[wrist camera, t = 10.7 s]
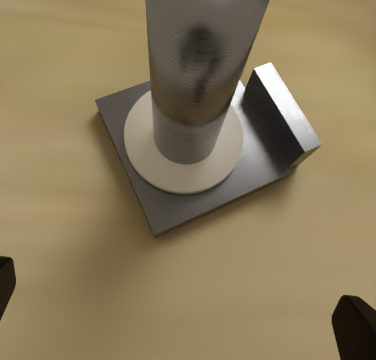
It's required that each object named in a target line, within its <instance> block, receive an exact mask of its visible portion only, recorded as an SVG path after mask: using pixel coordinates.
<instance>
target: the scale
mask: <svg viewBox="0 0 376 360" xmlns="http://www.w3.org/2000/svg"><path fill="white" fill-rule="evenodd" d="M150 90H151V83H150V81H148V82H145V83H142V84H139V85H136V86H134V87H131V88H128V89H125V90H122V91H119V92H117V93H114V94H111V95H108V96H105V97H102V98H99V99H97V100H95V101H96V104H97V107H98V110H99V112H100V114H101V117H102V119H103V121H104V123H105V126H106V128H107V130H108V132H109V135H110V137H111V139H112V142H113V144H114V146H115V148H116V151H117V153H118V155H119V157H120V160H121V162H122V164H123V166H124V169H125V171H126V173H127V176H128V178H129V180H130V182H131V185H132V187H133V189H134V191H135V194H136V196H137V198H138V201H139V203H140V205H141V207H142V210H143V212H144V214H145V216H146V219H147V221H148V223H149V225H150V228H151V230H152V232H153V235H154V237H155V238H156V237H159V236H161V235H163V234H165V233H167V232H170V231H172V230H174V229H176V228H178V227H180V226H183V225H185V224H187V223H189V222H191V221H193V220H196V219H198V218H200V217H202V216H204V215H207V214H209V213H211V212H213V211H215V210H217V209H220V208H222V207H224V206H226V205H228V204H230V203H233V202H235V201H237V200H239V199H241V198H244V197H246V196H248V195H250V194H252V193H254V192H257V191H259V190H261V189H263V188H265V187H267V186H270V185H272V184H274V183H276V182H278V181H281V180H283V179H285V178H287V177H288V176H289V175H290V174H291V173H293V172H294V170H293V169H292V168H294V167H296V166H298V165H299V164H300V163H301V162H303V161H304V160H305V159H306V158H307V157H308V156H310V155H311V154H312V153H313V152H314V151H315V150H316V149H318V148H319V147H320V146H321V145H322V143H321V141H320V140H319V138H318V137H317V135H316V133H315V132H314V130H313V129H312V127H311V125H310V124H309V122H308V121H307V119H306V117H305V116H304V114H303V113H302V111H301V110H300V107H299V105H298V103H297V102H296V100H295V99H294V98H293V97H292V95H291V94H290V92H289V91H288V89H287V87H286V86H285V84H284V83H283V81H282V79H281V78H280V76H279V75H278V73H277V72H276V70H275V68H274V67H273V65H272V64H271V62H270V63H268V64H265V65H262V66H260V67H257V68H254V70H253V72H252V74H251V77H250V79H249V81H248V84H247V86H246V88H244V86H243V84H242V82H241V81H240V80H239V83H238V86H237V88H236V91H235V94H234V96H233V99H232V101H231V106H232V107H233V108H234V110H235V111H236V113H237V115H238V117H239V119H240V122H241V125H242V130H243V148H242V152H241V155H240V157H239V160H238V162H237V163H236V165H235V167H234V168H233V170H232V171H231V173H230V174H229V175H228V176H227V177H226V178H225V179H224V180H223V181H222V182H221V183H219V184H218V185H216V186H215V187H213V188H211V189H209V190H206V191H203V192H199V193H195V194H176V193H170V192H167V191H163V190H161V189H159V188H156V187H155V186H153V185H151V184H150V183H148V182H147V181H146V180H144V179H143V178H142V177H141V176H140V175H139V174H138V173H137V171H136V170H135V169H134V167H133V166H132V164H131V162H130V160H129V157H128V155H127V151H126V147H125V142H124V127H125V123H126V119H127V117H128V114H129V112H130V110H131V109H132V107H133V106H134V104H135V103H136V102H137V101H138V100H139V99H140V98H141V97H142V96H143V95H144V94H146V93H147V92H149V91H150Z"/></svg>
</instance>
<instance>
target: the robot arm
mask: <svg viewBox="0 0 376 360" xmlns="http://www.w3.org/2000/svg"><path fill="white" fill-rule="evenodd" d="M15 285H16V276H15V269H14V262H13V259H12V258H10V257H5V256H0V320H1V318H2V316H3V313H4V311H5V309H6V307H7V304H8V302H9V300H10V298H11V295H12V293H13V291H14V289H15ZM332 326H333V330H334V334H335V338H336V343H337V347H338V351H339V355H340V359H341V360H376V310H375V309H373V308H372V307H371V306H370V305H368V304H367V303H366V302H365V301H364V300H362V299H361V298H360V297H358V296H352V295H343V296H342V297H341V298H340V300H339V302H338V304H337V306H336V308H335V310H334V312H333V314H332Z"/></svg>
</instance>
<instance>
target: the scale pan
mask: <svg viewBox="0 0 376 360" xmlns="http://www.w3.org/2000/svg"><path fill="white" fill-rule="evenodd" d="M124 142H125V147H126V151H127V155H128V157H129V160H130V162H131V164H132V166H133V167H134V169H135V170H136V171H137V173H138V174H139V175H140V176H141V177H142V178H143V179H144V180H146V181H147V182H148V183H150V184H151V185H153V186H155V187H156V188H159V189H161V190H163V191H167V192H170V193H176V194H195V193H199V192H203V191H206V190H209V189H211V188H213V187H215V186H216V185H218V184H219V183H221V182H222V181H223V180H224V179H225V178H226V177H227V176H228V175H229V174H230V173H231V171H232V170H233V168H234V167H235V165H236V163H237V162H238V160H239V157H240V155H241V152H242V148H243V130H242V125H241V122H240V119H239V117H238V115H237V113H236V111H235V110H234V108H233V107H232V106H231V104H230V107H229V109H228V112H227V115H226V117H225V120H224V123H223V125H222V128H221V131H220V133H219V136H218V139H217V141H216V144H215V147H214V149H213V151H212V152H211V153H210V155H209V156H208V157H206V158H205V159H204V160H202V161H200V162H198V163H195V164H188V165H185V164H178V163H174V162H172V161H170V160H168V159H167V158H165V157H164V156H163V155H162V154H161V153H160V152H159V150H158V149H157V147H156V144H155V141H154V132H153V116H152V99H151V90H150V91H149V92H147V93H146V94H144V95H143V96H142V97H141V98H140V99H139V100H138V101H137V102H136V103H135V104H134V106H133V107H132V109H131V110H130V112H129V114H128V117H127V119H126V123H125V127H124Z"/></svg>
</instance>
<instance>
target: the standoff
mask: <svg viewBox="0 0 376 360" xmlns="http://www.w3.org/2000/svg"><path fill="white" fill-rule="evenodd" d="M145 1H146V18H147V34H148V50H149V67H150V83H151V99H152V116H153V132H154V141H155V144H156V147H157V149H158V150H159V152H160V153H161V154H162V155H163V156H164V157H165V158H167V159H168V160H170V161H172V162H174V163H178V164H185V165H188V164H195V163H198V162H200V161H202V160H204V159H205V158H206V157H208V156H209V155H210V153H211V152H212V151H213V149H214V147H215V144H216V141H217V139H218V136H219V133H220V131H221V128H222V125H223V123H224V120H225V117H226V115H227V112H228V109H229V107H230V104H231V101H232V99H233V96H234V94H235V91H236V88H237V86H238V83H239V80H240V78H241V75H242V72H243V70H244V67H245V64H246V62H247V59H248V56H249V54H250V51H251V48H252V46H253V43H254V40H255V38H256V35H257V32H258V30H259V27H260V24H261V22H262V19H263V16H264V14H265V11H266V8H267V6H268V3H269V0H145Z"/></svg>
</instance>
